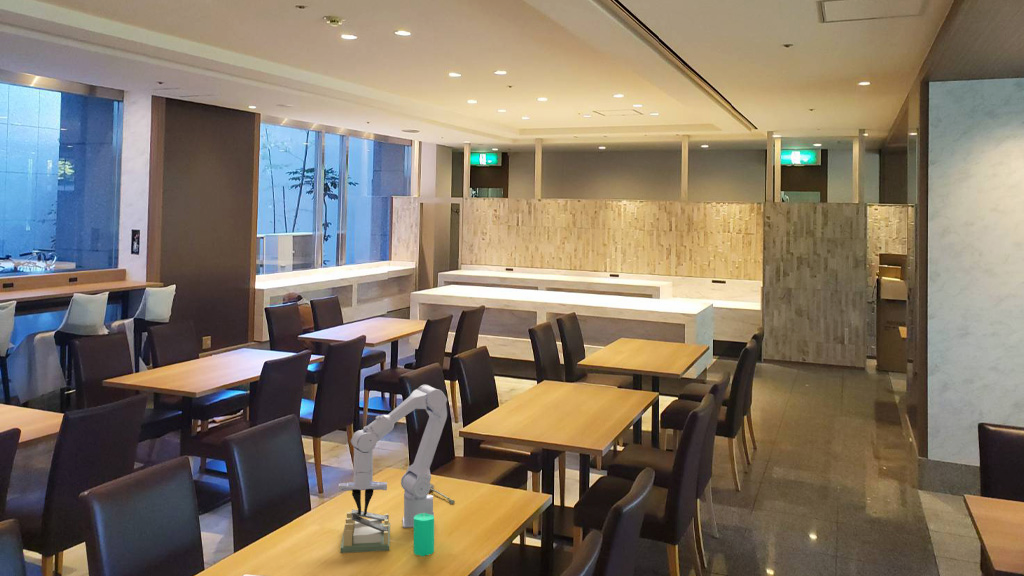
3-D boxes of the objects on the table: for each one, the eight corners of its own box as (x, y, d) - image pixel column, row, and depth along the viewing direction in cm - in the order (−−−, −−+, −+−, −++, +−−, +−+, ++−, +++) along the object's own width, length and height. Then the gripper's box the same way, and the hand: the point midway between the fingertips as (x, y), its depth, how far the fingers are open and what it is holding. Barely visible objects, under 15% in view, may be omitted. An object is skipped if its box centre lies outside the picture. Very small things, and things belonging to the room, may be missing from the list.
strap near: (387, 530, 226) (388, 527, 226) (387, 534, 223) (388, 531, 223) (352, 516, 224) (353, 513, 224) (351, 519, 221) (352, 517, 221)
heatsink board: (390, 527, 238) (390, 509, 237) (389, 550, 221) (389, 530, 220) (344, 529, 236) (344, 511, 235) (340, 552, 219) (340, 532, 218)
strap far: (387, 518, 235) (388, 515, 235) (387, 522, 232) (388, 519, 232) (351, 511, 233) (352, 508, 233) (351, 515, 230) (351, 512, 230)
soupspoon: (427, 487, 278) (411, 491, 274) (426, 478, 278) (411, 482, 274) (460, 502, 261) (444, 507, 257) (460, 493, 261) (444, 497, 257)
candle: (425, 557, 216) (425, 517, 215) (409, 552, 219) (409, 512, 219) (438, 550, 221) (438, 510, 220) (422, 545, 225) (422, 506, 224)
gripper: (387, 465, 236) (386, 507, 237) (339, 466, 234) (339, 508, 235) (386, 472, 229) (386, 515, 230) (338, 473, 227) (337, 517, 228)
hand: (362, 513), depth 232 cm, fingers closed
